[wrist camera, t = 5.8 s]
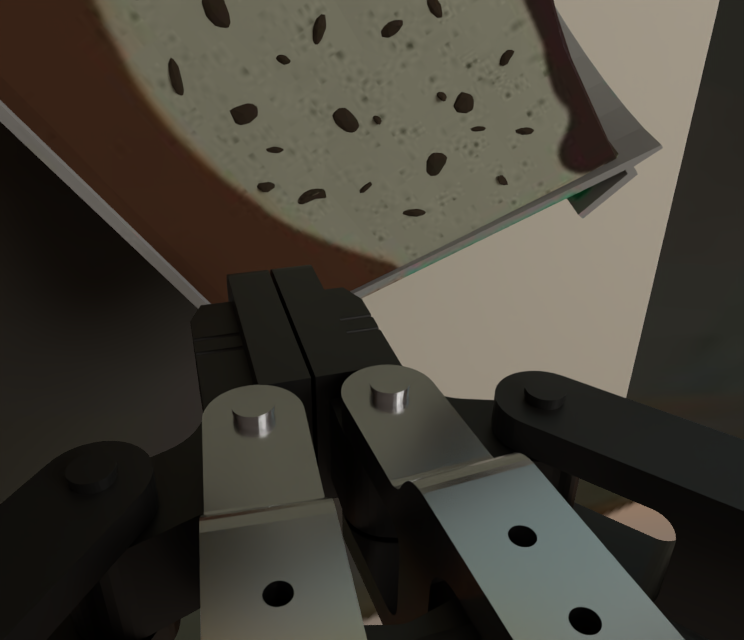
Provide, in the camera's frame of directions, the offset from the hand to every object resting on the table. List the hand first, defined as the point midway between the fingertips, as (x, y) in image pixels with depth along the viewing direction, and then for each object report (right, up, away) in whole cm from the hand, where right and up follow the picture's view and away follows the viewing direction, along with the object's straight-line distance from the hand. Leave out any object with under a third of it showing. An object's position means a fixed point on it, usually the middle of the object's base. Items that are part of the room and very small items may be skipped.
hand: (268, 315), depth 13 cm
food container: (-4, +4, +3) cm, 7 cm away
